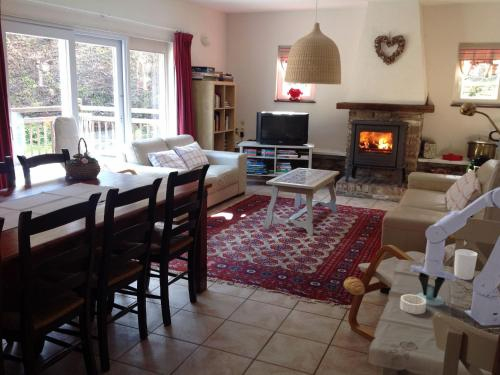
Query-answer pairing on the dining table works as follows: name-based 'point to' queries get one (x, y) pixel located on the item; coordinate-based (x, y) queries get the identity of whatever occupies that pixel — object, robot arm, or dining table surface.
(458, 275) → the white cup
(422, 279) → the robot arm
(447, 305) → the mat
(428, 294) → the lid
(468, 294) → the dining table surface
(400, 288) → the dining table surface
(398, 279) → the dining table surface
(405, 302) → the bowl
